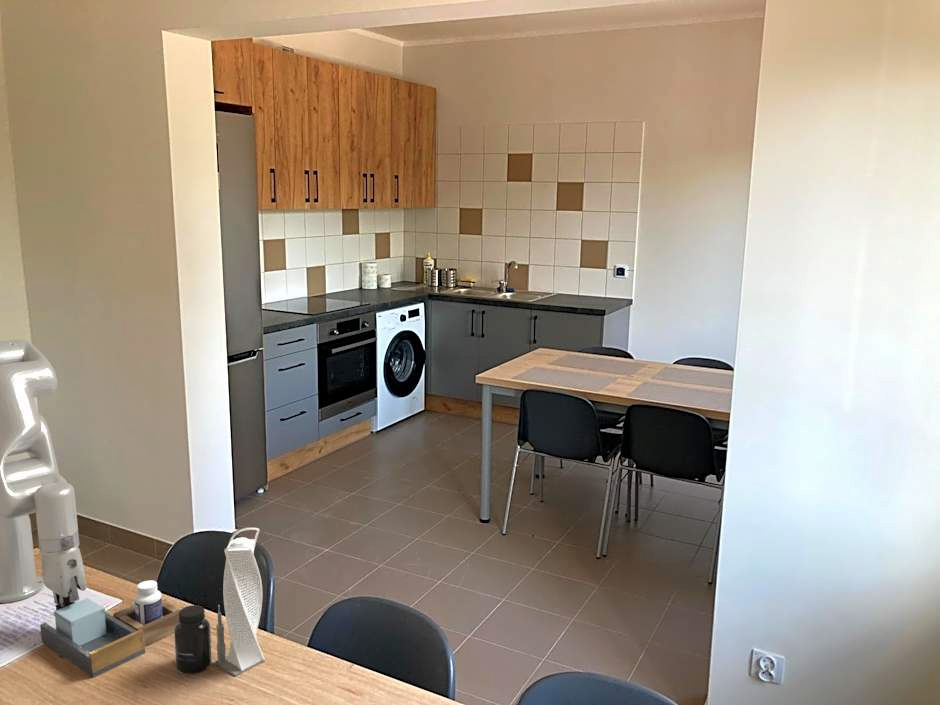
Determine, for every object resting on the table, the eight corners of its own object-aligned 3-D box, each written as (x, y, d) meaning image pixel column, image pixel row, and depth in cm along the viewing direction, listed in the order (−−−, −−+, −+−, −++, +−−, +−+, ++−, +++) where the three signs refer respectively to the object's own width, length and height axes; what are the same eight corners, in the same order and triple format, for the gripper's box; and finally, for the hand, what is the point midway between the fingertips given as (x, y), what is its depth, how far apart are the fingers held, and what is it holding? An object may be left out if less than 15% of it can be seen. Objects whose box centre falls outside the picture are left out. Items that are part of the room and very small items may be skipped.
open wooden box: (106, 626, 169) (105, 609, 168) (148, 608, 177) (147, 592, 176) (142, 648, 161) (140, 630, 160) (184, 628, 169) (183, 611, 168)
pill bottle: (167, 620, 170) (165, 579, 168) (155, 633, 165) (152, 591, 163) (144, 618, 171) (141, 577, 169) (131, 631, 165) (128, 589, 164)
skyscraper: (251, 645, 162) (245, 520, 157) (274, 660, 157) (269, 531, 152) (215, 663, 156) (208, 533, 151) (238, 678, 151) (231, 545, 146)
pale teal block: (56, 637, 163) (53, 611, 162) (89, 623, 168) (87, 597, 167) (73, 648, 159) (70, 622, 157) (107, 633, 164) (104, 608, 163)
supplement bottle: (178, 679, 151) (175, 622, 148) (174, 661, 156) (170, 606, 154) (214, 669, 154) (211, 614, 151) (209, 652, 160) (206, 599, 157)
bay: (42, 641, 163) (39, 620, 162) (92, 620, 172) (91, 599, 171) (93, 677, 151) (91, 654, 150) (145, 652, 159) (143, 630, 158)
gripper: (94, 544, 162) (101, 624, 166) (59, 526, 171) (67, 603, 174) (58, 556, 156) (66, 639, 160) (24, 538, 165) (32, 616, 168)
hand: (66, 620), depth 167 cm, fingers closed
